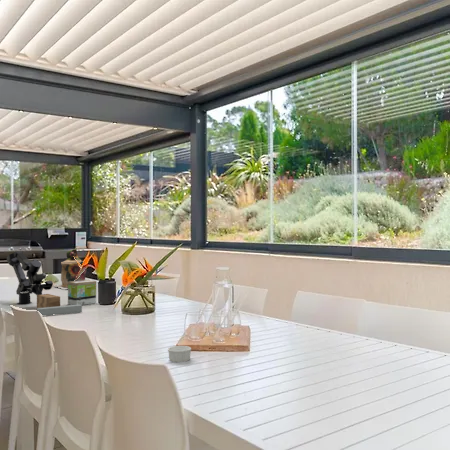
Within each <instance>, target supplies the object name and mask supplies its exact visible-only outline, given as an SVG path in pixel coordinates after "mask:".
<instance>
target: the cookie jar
mask: <svg viewBox="0 0 450 450" xmlns="http://www.w3.org/2000/svg"><path fill="white" fill-rule="evenodd" d="M77 249H78V248H76V247H75V248H73V249H70V250H67V252H66V254H65V255H66V257H67V258H66V259H65V260H64V261H61V262H60V265H61V272H60V281H61V284H54V285H53V287H55V288H57V287H58V288H57V289H60V288H61V289H60V290H64V289H65V291H66V290H68V282H73V281H74V280H75V279H76V276H77V274H78V272H79V270H80V267H79V266H78V264H77V262H76V260H77V261H78V262H79V263H80V264H82V263H83V262H84V261H83V260H81V258H79V256H78V250H77ZM73 256H74V257H75V259H76V260H75V259H74V257H73ZM86 273H87V268H86V269H85V271H84V272H83V273H82V274H81V276H80V277H79V278H78V279H77V280H76V281H83V280H86Z"/></svg>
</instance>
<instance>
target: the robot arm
mask: <svg viewBox="0 0 450 450" xmlns="http://www.w3.org/2000/svg"><path fill="white" fill-rule="evenodd" d="M6 262H7V264H8V265H9V266H11V268H13V270H14V273H15V275H16V277H17V281H18V286H17V289H16V291H15V292H16V295H17V296H18V302H17V303H16V304H18V305H28V304H32V303H33V301H31V295H32V294H35V296H37V295H42V294H43V290H44V291H49V290H51V289H52V287H53V286H54V285H53V284H54V282H53V281H52V280H47V281H45V282H44V283H43V280H45V279H47V274H46V273H45V272H43V273H39V272H40V269H41V267H42V262H41V261H39V260H38V259H37V258H35V259H32V260H31V259H29V258H28V257H27V256H26V254H24V252H23V251H21V250H15V251H13V253H10V254H8V255H7V257H6ZM25 272H26V274H25Z"/></svg>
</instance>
